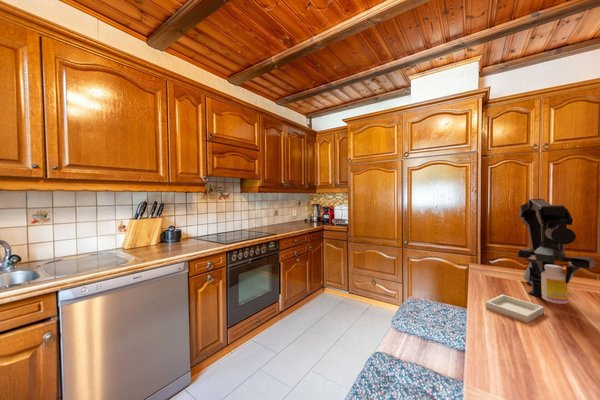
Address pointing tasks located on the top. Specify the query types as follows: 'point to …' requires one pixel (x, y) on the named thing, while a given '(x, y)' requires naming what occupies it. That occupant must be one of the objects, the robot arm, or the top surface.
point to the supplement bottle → (554, 284)
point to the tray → (515, 308)
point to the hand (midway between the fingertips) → (553, 280)
